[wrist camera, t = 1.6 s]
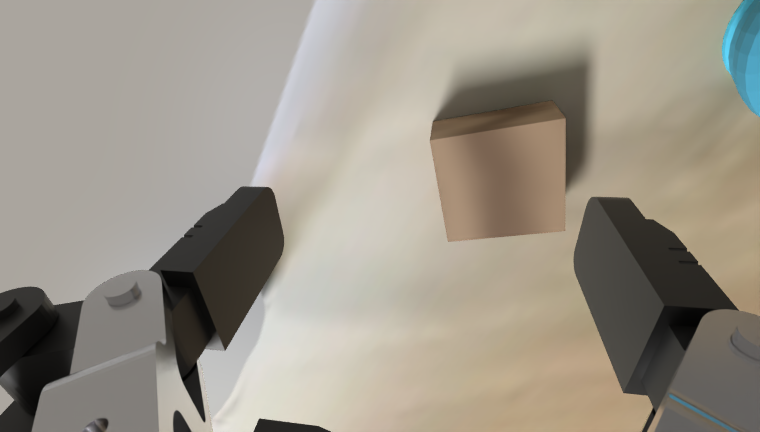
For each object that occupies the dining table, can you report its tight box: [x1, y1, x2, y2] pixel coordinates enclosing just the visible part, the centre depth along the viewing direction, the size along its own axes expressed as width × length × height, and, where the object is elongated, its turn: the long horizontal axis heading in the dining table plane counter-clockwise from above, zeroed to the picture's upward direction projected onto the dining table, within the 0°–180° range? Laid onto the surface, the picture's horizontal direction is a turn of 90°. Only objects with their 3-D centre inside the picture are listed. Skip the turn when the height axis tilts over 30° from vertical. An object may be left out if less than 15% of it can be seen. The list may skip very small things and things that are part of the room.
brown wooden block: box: [430, 100, 566, 242], centre depth 27 cm, size 8×8×4 cm
